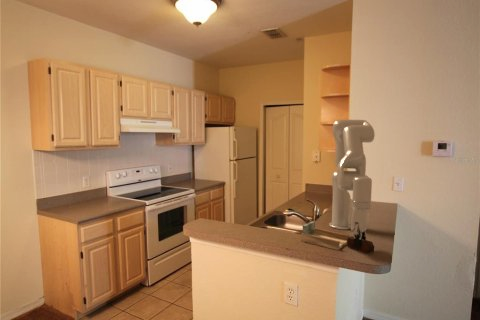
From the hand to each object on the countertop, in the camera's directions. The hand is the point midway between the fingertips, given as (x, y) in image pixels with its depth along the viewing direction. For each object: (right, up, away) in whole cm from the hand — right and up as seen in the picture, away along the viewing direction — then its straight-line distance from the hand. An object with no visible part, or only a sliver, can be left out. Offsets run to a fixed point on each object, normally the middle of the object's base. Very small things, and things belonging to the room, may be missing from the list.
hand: (359, 245), depth 128 cm
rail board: (-12, -1, +10) cm, 16 cm away
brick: (0, -2, 0) cm, 2 cm away
